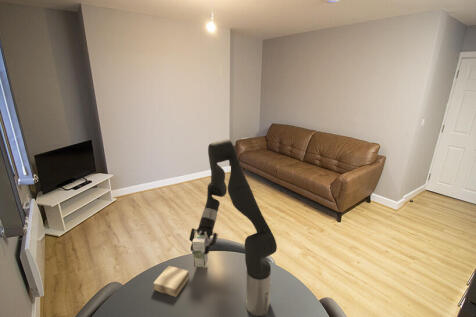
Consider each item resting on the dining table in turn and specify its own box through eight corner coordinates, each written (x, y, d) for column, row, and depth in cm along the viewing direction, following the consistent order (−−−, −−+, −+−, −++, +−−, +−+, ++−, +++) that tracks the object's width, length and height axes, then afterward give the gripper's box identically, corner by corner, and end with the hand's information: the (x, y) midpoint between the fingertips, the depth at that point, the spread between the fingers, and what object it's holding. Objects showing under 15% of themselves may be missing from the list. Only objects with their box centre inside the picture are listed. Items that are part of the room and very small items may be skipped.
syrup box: (208, 259, 116) (206, 234, 112) (205, 268, 110) (203, 242, 107) (197, 258, 117) (195, 234, 113) (193, 267, 111) (191, 241, 107)
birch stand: (189, 278, 108) (188, 271, 106) (175, 297, 97) (175, 289, 96) (169, 272, 111) (168, 265, 110) (154, 290, 101) (153, 282, 100)
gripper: (193, 214, 117) (182, 248, 109) (219, 219, 112) (209, 254, 105) (198, 218, 123) (188, 251, 115) (223, 223, 119) (214, 257, 111)
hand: (198, 252), depth 110 cm, fingers closed on syrup box, 6 cm apart
